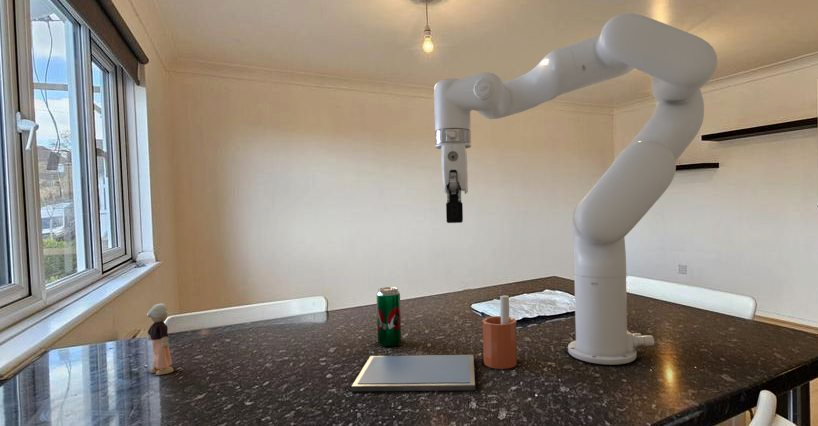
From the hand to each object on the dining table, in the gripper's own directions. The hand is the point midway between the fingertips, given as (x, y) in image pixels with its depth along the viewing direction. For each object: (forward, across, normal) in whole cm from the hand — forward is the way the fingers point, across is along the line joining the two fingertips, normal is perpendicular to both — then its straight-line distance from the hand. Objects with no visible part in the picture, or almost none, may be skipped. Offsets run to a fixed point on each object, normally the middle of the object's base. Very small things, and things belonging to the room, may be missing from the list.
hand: (455, 221), depth 90 cm
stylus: (+26, -10, -9) cm, 29 cm away
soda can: (+26, +2, +15) cm, 31 cm away
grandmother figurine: (+26, -12, +56) cm, 63 cm away
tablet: (+26, -15, +7) cm, 31 cm away
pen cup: (+26, -10, -8) cm, 29 cm away
